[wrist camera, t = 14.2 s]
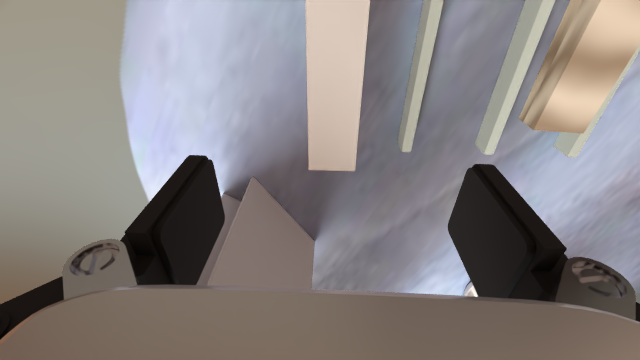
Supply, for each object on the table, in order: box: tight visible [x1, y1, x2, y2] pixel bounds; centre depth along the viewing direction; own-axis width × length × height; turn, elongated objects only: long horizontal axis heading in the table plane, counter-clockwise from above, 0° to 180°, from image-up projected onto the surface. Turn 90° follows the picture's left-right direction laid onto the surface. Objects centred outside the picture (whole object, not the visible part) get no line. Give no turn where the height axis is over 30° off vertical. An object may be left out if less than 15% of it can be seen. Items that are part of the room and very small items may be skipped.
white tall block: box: [197, 177, 315, 289], centre depth 30 cm, size 14×6×30 cm, turn 34°
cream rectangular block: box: [306, 0, 370, 171], centre depth 25 cm, size 14×4×10 cm, turn 0°
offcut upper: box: [523, 0, 640, 134], centre depth 27 cm, size 12×5×2 cm, turn 177°
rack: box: [397, 0, 640, 157], centre depth 28 cm, size 18×19×2 cm
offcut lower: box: [519, 0, 582, 122], centre depth 28 cm, size 12×5×2 cm, turn 179°
